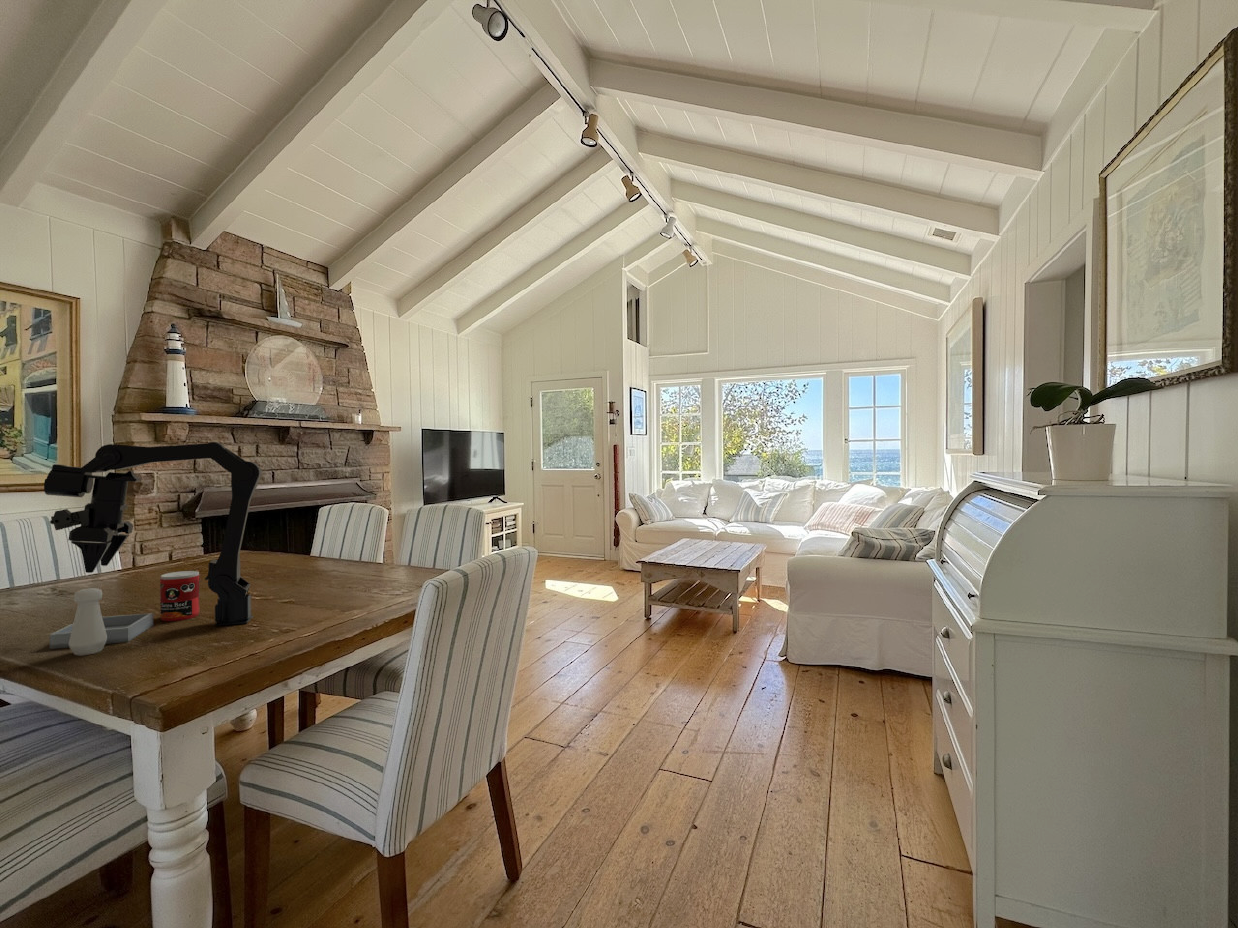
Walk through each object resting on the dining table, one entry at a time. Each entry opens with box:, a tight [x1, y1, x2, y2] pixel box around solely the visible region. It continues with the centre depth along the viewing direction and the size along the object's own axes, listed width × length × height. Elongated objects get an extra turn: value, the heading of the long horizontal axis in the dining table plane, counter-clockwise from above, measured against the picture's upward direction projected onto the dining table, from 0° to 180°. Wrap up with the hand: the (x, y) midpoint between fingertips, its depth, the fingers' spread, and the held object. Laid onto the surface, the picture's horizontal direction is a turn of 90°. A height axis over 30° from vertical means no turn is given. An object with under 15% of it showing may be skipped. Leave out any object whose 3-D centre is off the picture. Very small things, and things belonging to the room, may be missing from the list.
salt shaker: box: [68, 587, 107, 657], centre depth 116 cm, size 6×6×13 cm
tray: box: [49, 612, 154, 650], centre depth 126 cm, size 13×13×3 cm
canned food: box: [159, 570, 200, 622], centre depth 142 cm, size 8×8×11 cm
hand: (96, 568), depth 126 cm, fingers open, 9 cm apart
